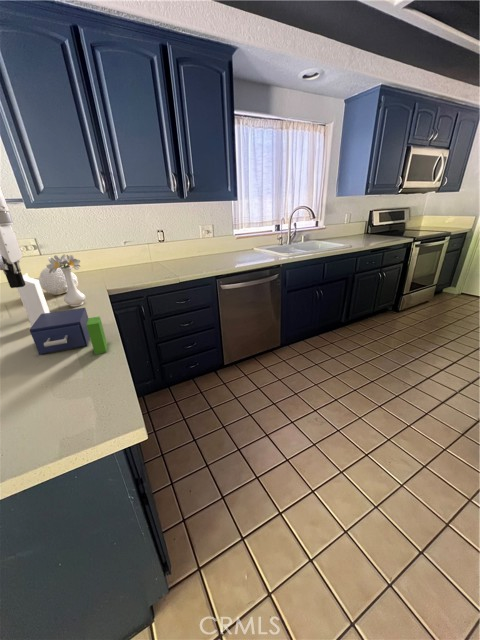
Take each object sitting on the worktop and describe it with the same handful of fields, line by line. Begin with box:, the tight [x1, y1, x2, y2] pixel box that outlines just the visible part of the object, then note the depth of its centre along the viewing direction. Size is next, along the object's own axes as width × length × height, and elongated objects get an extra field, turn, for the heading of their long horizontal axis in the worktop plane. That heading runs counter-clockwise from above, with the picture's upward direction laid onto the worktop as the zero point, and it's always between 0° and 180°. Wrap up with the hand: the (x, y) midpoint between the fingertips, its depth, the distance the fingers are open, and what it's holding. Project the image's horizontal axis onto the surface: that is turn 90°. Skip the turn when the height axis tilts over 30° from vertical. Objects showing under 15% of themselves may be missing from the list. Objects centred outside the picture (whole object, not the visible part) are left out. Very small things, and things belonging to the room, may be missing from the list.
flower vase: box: [46, 254, 87, 308], centre depth 129 cm, size 13×18×25 cm
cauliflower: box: [38, 267, 79, 296], centre depth 151 cm, size 20×18×16 cm
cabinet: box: [29, 307, 90, 356], centre depth 96 cm, size 15×15×10 cm
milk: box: [16, 272, 51, 327], centre depth 106 cm, size 6×6×22 cm
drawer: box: [31, 324, 86, 355], centre depth 92 cm, size 18×13×8 cm
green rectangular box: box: [87, 316, 108, 355], centre depth 89 cm, size 4×6×11 cm, turn 22°
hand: (18, 286), depth 77 cm, fingers closed
